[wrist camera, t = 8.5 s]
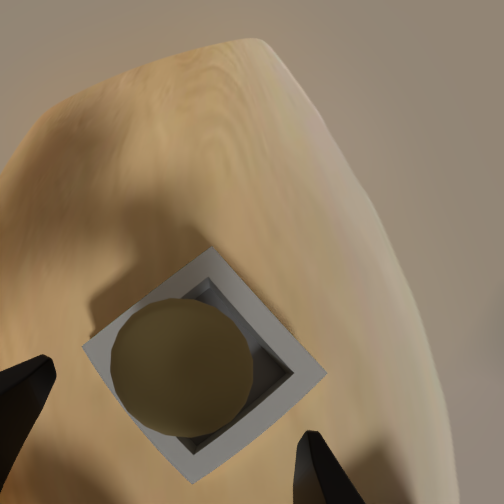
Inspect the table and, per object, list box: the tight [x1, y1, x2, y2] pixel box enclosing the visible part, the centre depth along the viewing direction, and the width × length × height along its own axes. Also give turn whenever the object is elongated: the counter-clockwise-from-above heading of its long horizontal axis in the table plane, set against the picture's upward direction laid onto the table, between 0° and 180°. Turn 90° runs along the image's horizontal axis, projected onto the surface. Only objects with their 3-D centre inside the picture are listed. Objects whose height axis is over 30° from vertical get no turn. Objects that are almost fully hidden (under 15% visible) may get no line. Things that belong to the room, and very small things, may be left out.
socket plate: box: [82, 246, 327, 484], centre depth 18 cm, size 12×12×4 cm
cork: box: [110, 298, 253, 438], centre depth 13 cm, size 6×6×11 cm
